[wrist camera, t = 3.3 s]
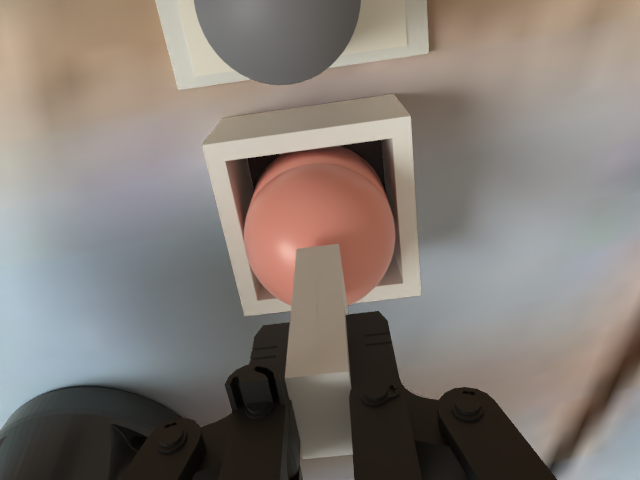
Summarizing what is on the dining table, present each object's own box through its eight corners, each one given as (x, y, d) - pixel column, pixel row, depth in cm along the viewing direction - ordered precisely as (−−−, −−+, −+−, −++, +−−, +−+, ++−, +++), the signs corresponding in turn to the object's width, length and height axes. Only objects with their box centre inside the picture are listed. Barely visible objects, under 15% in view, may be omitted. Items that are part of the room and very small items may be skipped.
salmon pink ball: (266, 271, 26) (251, 351, 20) (240, 152, 23) (215, 204, 17) (390, 256, 25) (411, 333, 19) (379, 133, 22) (400, 180, 17)
